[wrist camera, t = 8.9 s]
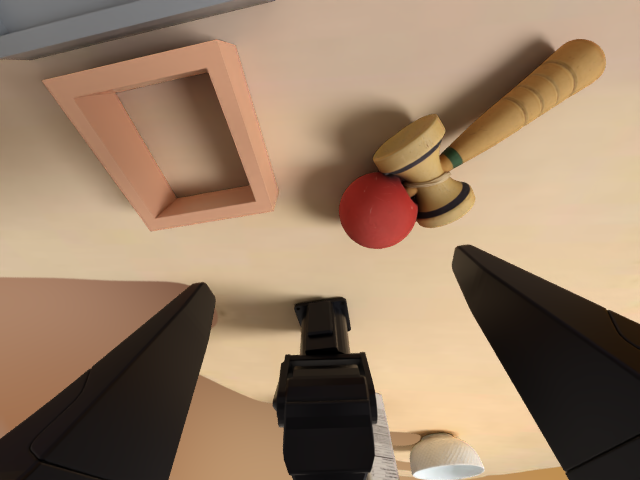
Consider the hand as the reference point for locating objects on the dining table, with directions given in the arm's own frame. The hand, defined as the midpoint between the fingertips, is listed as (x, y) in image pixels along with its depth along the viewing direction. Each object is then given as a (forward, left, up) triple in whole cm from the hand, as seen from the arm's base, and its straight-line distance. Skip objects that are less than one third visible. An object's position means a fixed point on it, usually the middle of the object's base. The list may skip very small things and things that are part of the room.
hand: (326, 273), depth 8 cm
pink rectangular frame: (+3, +9, -13) cm, 16 cm away
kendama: (-1, -9, -13) cm, 16 cm away
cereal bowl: (-78, -18, -13) cm, 81 cm away
